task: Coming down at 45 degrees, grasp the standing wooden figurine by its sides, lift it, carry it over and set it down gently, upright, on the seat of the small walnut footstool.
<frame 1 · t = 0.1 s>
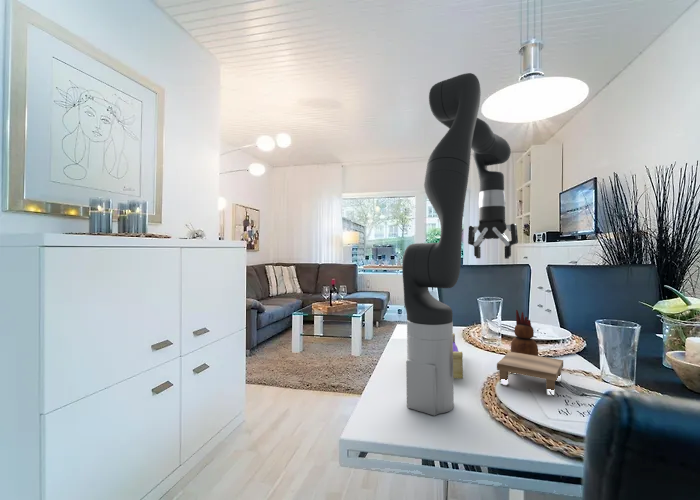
hand: (492, 258, 106), 29 cm above the table, tool pointing down, fingers open, 8 cm apart
toy sofa: (443, 366, 95), on the table
wooden figurine: (524, 365, 94), on the table
footstool: (530, 382, 82), on the table
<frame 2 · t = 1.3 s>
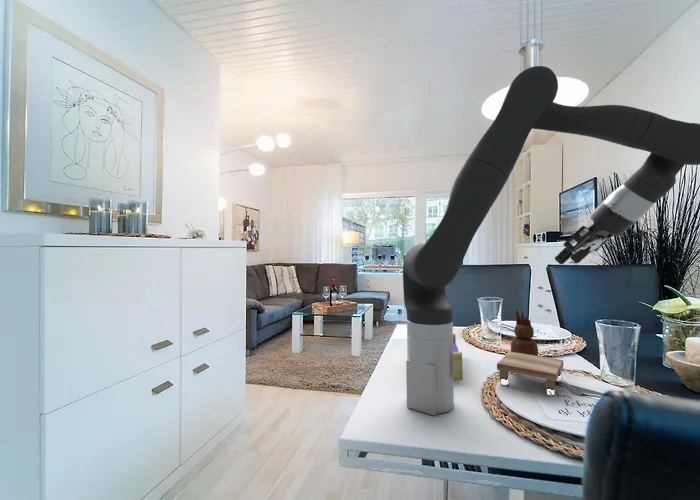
hand: (566, 261, 85), 29 cm above the table, tool tilted 45°, fingers open, 8 cm apart
nothing on the table moved.
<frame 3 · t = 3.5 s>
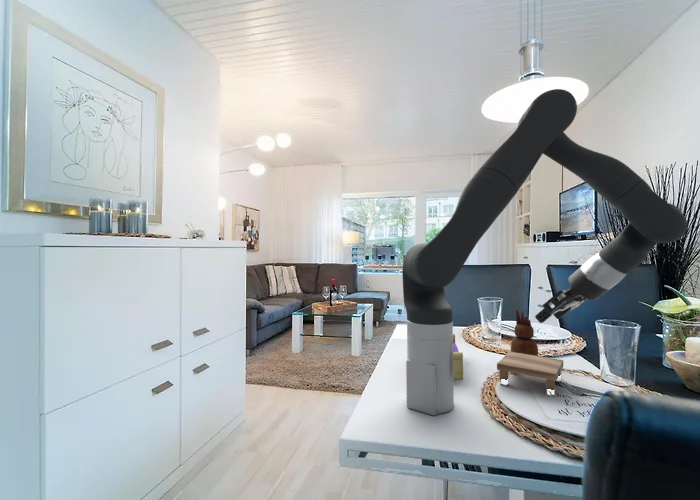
hand: (546, 318, 89), 14 cm above the table, tool tilted 45°, fingers open, 8 cm apart
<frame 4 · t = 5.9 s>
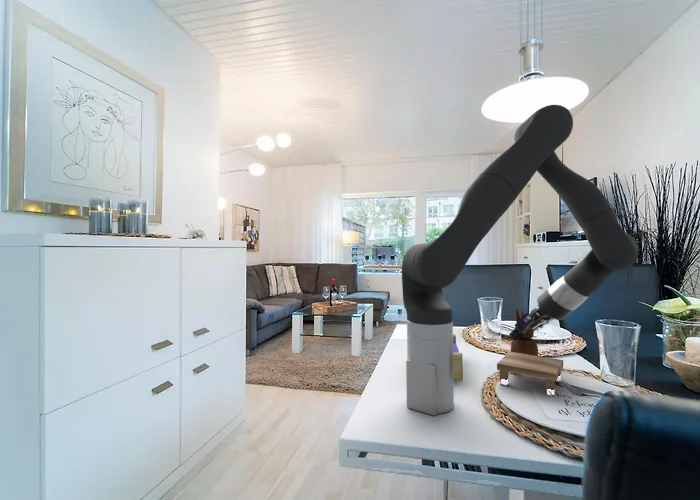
hand: (517, 336, 96), 8 cm above the table, tool tilted 45°, fingers closed on wooden figurine, 4 cm apart
wooden figurine: (524, 365, 94), on the table, touching gripper
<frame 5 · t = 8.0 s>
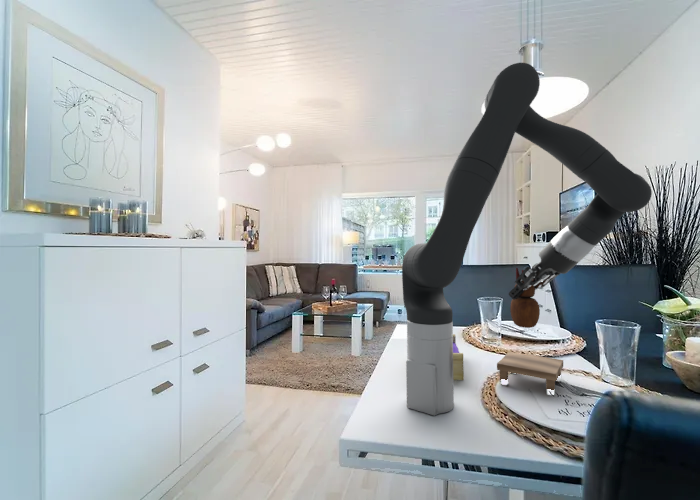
hand: (517, 296, 90), 20 cm above the table, tool tilted 45°, fingers closed on wooden figurine, 4 cm apart
wooden figurine: (524, 327, 88), point 12 cm above the table, touching gripper
when the fingers open (14 cm above the table, at t = 10.3 s): wooden figurine stays where it is, resting on footstool.
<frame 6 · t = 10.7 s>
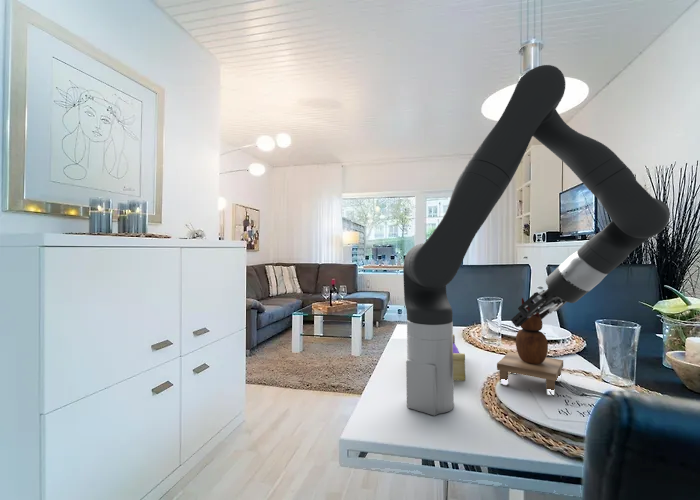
hand: (524, 321, 83), 14 cm above the table, tool tilted 45°, fingers open, 8 cm apart
wooden figurine: (531, 362, 81), point 5 cm above the table, touching footstool
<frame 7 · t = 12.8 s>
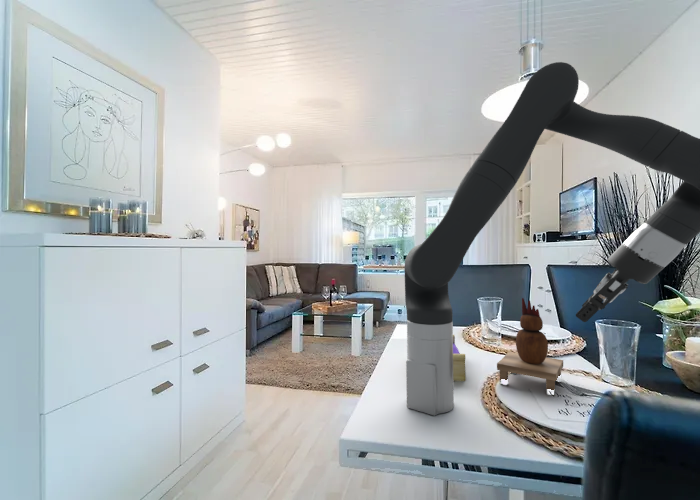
hand: (583, 313, 72), 18 cm above the table, tool tilted 40°, fingers open, 8 cm apart
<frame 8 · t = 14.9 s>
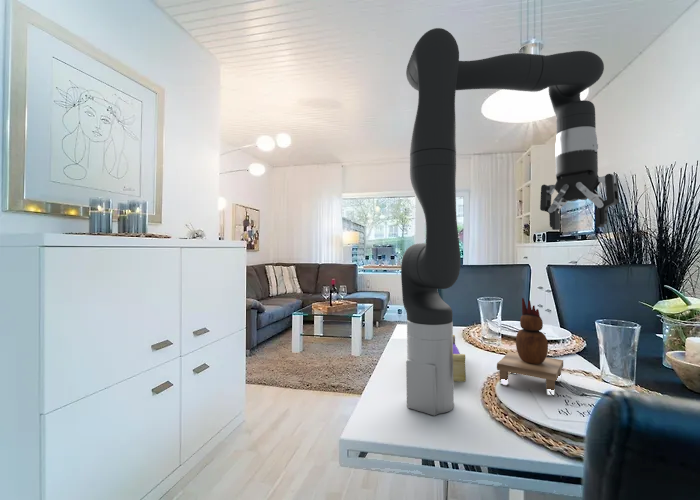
hand: (577, 228, 73), 36 cm above the table, tool pointing down, fingers open, 8 cm apart
at the end: wooden figurine inside the target area on the footstool (0.3 cm from its centre), point 4.8 cm above the footstool's base; wooden figurine tilted 0°; the gripper is holding nothing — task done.
